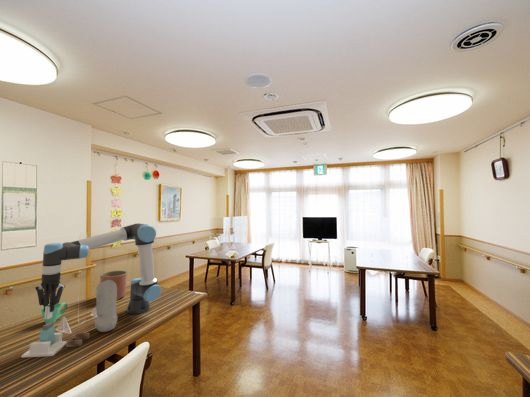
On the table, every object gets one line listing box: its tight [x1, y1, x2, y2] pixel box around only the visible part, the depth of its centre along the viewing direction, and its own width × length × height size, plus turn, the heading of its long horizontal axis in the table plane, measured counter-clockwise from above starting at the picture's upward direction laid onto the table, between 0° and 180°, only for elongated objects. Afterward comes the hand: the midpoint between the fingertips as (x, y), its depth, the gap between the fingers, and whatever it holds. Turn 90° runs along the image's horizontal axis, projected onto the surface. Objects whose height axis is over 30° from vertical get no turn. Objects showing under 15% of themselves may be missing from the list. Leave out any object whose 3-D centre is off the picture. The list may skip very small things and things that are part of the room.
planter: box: [99, 269, 128, 301], centre depth 200 cm, size 19×19×20 cm
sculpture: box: [94, 280, 118, 333], centre depth 150 cm, size 15×12×30 cm
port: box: [20, 332, 68, 358], centre depth 127 cm, size 14×12×6 cm
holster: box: [65, 332, 91, 348], centre depth 135 cm, size 7×9×3 cm
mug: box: [40, 302, 68, 324], centre depth 159 cm, size 15×10×10 cm
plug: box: [38, 323, 56, 346], centre depth 127 cm, size 4×5×12 cm
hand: (48, 317), depth 128 cm, fingers closed
